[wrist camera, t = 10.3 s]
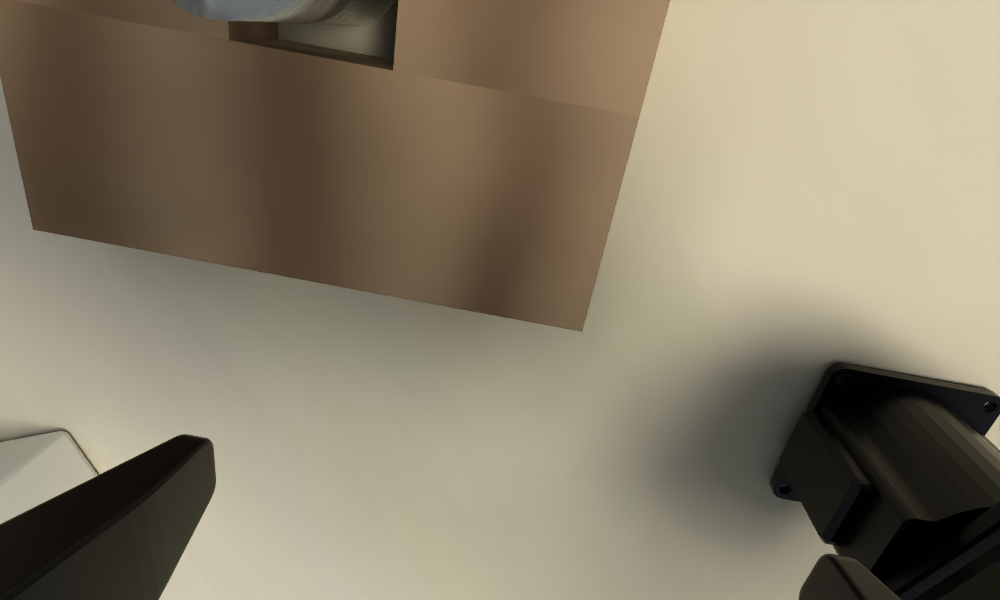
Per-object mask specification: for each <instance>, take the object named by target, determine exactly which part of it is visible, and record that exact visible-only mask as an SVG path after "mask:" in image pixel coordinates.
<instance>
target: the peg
mask: <svg viewBox="0 0 1000 600" xmlns="http://www.w3.org/2000/svg"><path fill="white" fill-rule="evenodd" d="M170 1H172V2H173V3H174V4H176V5H177V6H179V7H180V8H182V9H184V10H186V11H188V12H190V13H192V14H194V15H197V16H199V17H203V18H207V19H213V20H224V21H255V22H285V23H316V24H346V25H363V24H368V23H371V22H374V21H376V20H378V19H380V18H381V17H382V16H384V15H385V14H386V13H387V12H388V11H389V10H390V8H391V7H392V6H393V4H394V2H395V0H170Z"/></svg>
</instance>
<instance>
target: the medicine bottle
mask: <svg viewBox="0 0 1000 600" xmlns="http://www.w3.org/2000/svg"><path fill="white" fill-rule="evenodd" d="M96 476H98V474H97V473H96V471H95V470H94V469H93V467H92V466H91V464H90V463H89V462H88V460H87V459H86V457H85V456H84V455H83V453H82V452H81V450H80V449H79V448H78V446H77V445H76V443H75V442H74V441H73V439H72V438H71V436H70V435H69V434H68V433H67V432H64V431H58V432H52V433H47V434H41V435H36V436H31V437H25V438H20V439H14V440H9V441H4V442H0V524H1V523H3V522H5V521H7V520H9V519H11V518H13V517H15V516H17V515H19V514H21V513H23V512H25V511H27V510H29V509H31V508H33V507H35V506H37V505H39V504H42V503H44V502H46V501H48V500H50V499H52V498H54V497H56V496H58V495H60V494H62V493H64V492H66V491H68V490H70V489H72V488H74V487H76V486H78V485H80V484H82V483H84V482H86V481H88V480H90V479H92V478H94V477H96Z"/></svg>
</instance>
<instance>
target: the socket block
mask: <svg viewBox="0 0 1000 600" xmlns="http://www.w3.org/2000/svg"><path fill="white" fill-rule="evenodd" d="M669 2H670V0H398V12H397V25H396V38H395V51H394V60H389V59H383V58H378V57H373V56H367V55H362V54H356V53H351V52H346V51H340V50H335V49H330V48H324V47H319V46H313V45H308V44H303V43H297V42H292V41H286V40H281V39H278V23H277V22H255V21H224V20H213V19H207V18H203V17H199V16H197V15H194V14H192V13H190V12H188V11H186V10H184V9H182V8H180V7H179V6H177V5H176V4H174V3H173V2H172V1H170V0H0V76H1V81H2V85H3V90H4V95H5V100H6V104H7V109H8V114H9V118H10V123H11V128H12V132H13V137H14V142H15V147H16V151H17V156H18V161H19V165H20V170H21V175H22V179H23V184H24V189H25V194H26V198H27V203H28V208H29V212H30V217H31V222H32V226H33V230H39V231H44V232H50V233H55V234H60V235H66V236H71V237H76V238H82V239H87V240H93V241H98V242H103V243H109V244H114V245H119V246H125V247H130V248H136V249H141V250H146V251H152V252H157V253H162V254H168V255H173V256H179V257H184V258H189V259H195V260H200V261H205V262H211V263H216V264H221V265H227V266H232V267H238V268H243V269H248V270H254V271H259V272H264V273H270V274H275V275H281V276H286V277H291V278H297V279H302V280H307V281H313V282H318V283H324V284H329V285H334V286H340V287H345V288H350V289H356V290H361V291H367V292H372V293H377V294H383V295H388V296H393V297H399V298H404V299H410V300H415V301H420V302H426V303H431V304H436V305H442V306H447V307H453V308H458V309H463V310H469V311H474V312H479V313H485V314H490V315H496V316H501V317H506V318H512V319H517V320H522V321H528V322H533V323H538V324H544V325H549V326H555V327H560V328H565V329H571V330H576V331H581V332H582V330H583V326H584V322H585V319H586V315H587V311H588V307H589V304H590V300H591V296H592V292H593V289H594V285H595V281H596V277H597V274H598V270H599V266H600V262H601V258H602V255H603V251H604V247H605V243H606V240H607V236H608V232H609V228H610V225H611V221H612V217H613V213H614V209H615V206H616V202H617V198H618V194H619V191H620V187H621V183H622V179H623V176H624V172H625V168H626V164H627V161H628V157H629V153H630V149H631V145H632V142H633V138H634V134H635V130H636V127H637V123H638V119H639V115H640V112H641V108H642V104H643V100H644V97H645V93H646V89H647V85H648V81H649V78H650V74H651V70H652V66H653V63H654V59H655V55H656V51H657V48H658V44H659V40H660V36H661V32H662V29H663V25H664V21H665V17H666V14H667V10H668V6H669Z"/></svg>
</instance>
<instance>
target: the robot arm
mask: <svg viewBox="0 0 1000 600" xmlns="http://www.w3.org/2000/svg"><path fill="white" fill-rule="evenodd" d="M842 374H845V376H844V377H843V378H842V379H840V380H836V379H837V378H838V376H840V375H842ZM985 403H987V404H986V405H984V404H985ZM983 405H984V406H983ZM999 414H1000V397H999V396H998V395H997V394H996V393H994V392H993V391H990V390H986V389H981V388H975V387H970V386H964V385H959V384H954V383H948V382H943V381H938V380H932V379H927V378H921V377H916V376H911V375H905V374H900V373H895V372H889V371H884V370H878V369H873V368H868V367H862V366H857V365H852V364H846V363H837V364H834V365H832V366H830V367H829V368H828V369H827V370H826V371H825V373H824V375H823V377H822V379H821V381H820V383H819V385H818V387H817V389H816V391H815V393H814V395H813V397H812V399H811V401H810V403H809V405H808V407H807V409H806V411H804V412H803V413H802V415H801V417H800V419H799V421H798V423H797V425H796V427H795V429H794V431H793V433H792V435H791V437H790V439H789V441H788V443H787V445H786V447H785V449H784V451H783V453H782V455H781V457H780V459H779V461H780V462H779V464H778V466H777V468H776V470H775V472H774V474H773V476H772V478H771V480H770V486H771V489H772V491H773V493H774V495H776V496H777V497H779V498H782V499H787V500H793V501H798V502H801V503H802V505H803V506H804V508H805V510H806V512H807V514H808V516H809V518H810V520H811V521H812V523H813V525H814V527H815V529H816V531H817V533H818V535H819V536H820V538H821V539H822V541H823V542H824V543H825V544H831V545H833V547H834V548H835V550H836V552H837V554H838V555H834V554H825V555H823V556H821V557H820V558H819V559H818V561H817V563H816V564H815V566H814V568H813V569H812V571H811V573H810V574H809V576H808V578H807V579H806V581H805V583H804V584H803V586H802V588H801V590H800V594H799V600H1000V450H999V449H998V448H997V447H996V446H995V445H994V444H992V443H991V442H990V441H989V440H988V439H987V438H986V437H985V435H986V433H987V432H988V430H989V429H990V427H991V426H992V425H993V423H994V422H995V420H996V419H997V417H998V416H999ZM215 485H216V473H215V460H214V448H213V444H212V442H211V440H209V439H207V438H204V437H198V436H193V435H187V434H183V435H179V436H176V437H174V438H172V439H170V440H168V441H166V442H164V443H162V444H160V445H158V446H156V447H154V448H152V449H150V450H148V451H146V452H144V453H142V454H140V455H138V456H136V457H134V458H132V459H130V460H128V461H126V462H124V463H122V464H120V465H118V466H116V467H114V468H112V469H110V470H108V471H106V472H104V473H102V474H100V475H98V476H96V477H94V478H92V479H90V480H88V481H86V482H84V483H82V484H80V485H78V486H76V487H74V488H72V489H70V490H68V491H66V492H64V493H62V494H60V495H58V496H56V497H54V498H52V499H50V500H48V501H46V502H44V503H42V504H39V505H37V506H35V507H33V508H31V509H29V510H27V511H25V512H23V513H21V514H19V515H17V516H15V517H13V518H11V519H9V520H7V521H5V522H3V523H1V524H0V600H159V598H160V596H161V594H162V592H163V591H164V589H165V587H166V585H167V583H168V581H169V579H170V578H171V576H172V574H173V572H174V570H175V568H176V566H177V564H178V562H179V560H180V558H181V556H182V554H183V552H184V550H185V548H186V546H187V544H188V543H189V541H190V539H191V537H192V535H193V533H194V531H195V529H196V527H197V525H198V523H199V521H200V519H201V517H202V515H203V513H204V511H205V509H206V508H207V506H208V504H209V502H210V500H211V498H212V495H213V493H214V490H215ZM783 485H787V486H785V487H781V486H783Z"/></svg>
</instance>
